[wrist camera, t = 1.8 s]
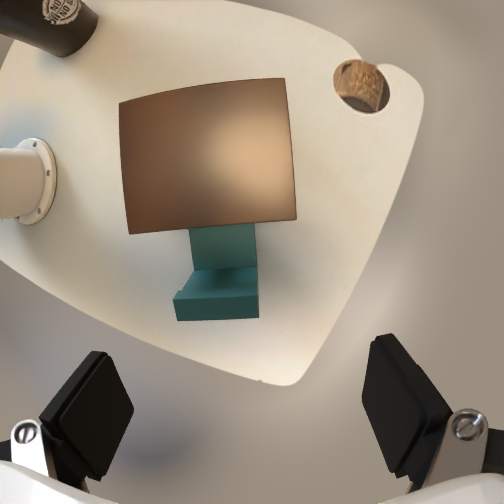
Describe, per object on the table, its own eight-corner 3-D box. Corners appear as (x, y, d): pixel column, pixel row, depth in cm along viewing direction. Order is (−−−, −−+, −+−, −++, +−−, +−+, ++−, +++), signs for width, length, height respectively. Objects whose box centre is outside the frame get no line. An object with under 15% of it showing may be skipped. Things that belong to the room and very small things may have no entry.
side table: (174, 213, 30) (128, 234, 19) (166, 127, 28) (118, 102, 16) (280, 204, 30) (296, 220, 18) (273, 115, 27) (284, 77, 16)
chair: (257, 263, 32) (259, 318, 19) (206, 266, 32) (177, 321, 19) (252, 188, 29) (249, 194, 17) (197, 193, 30) (157, 203, 17)
